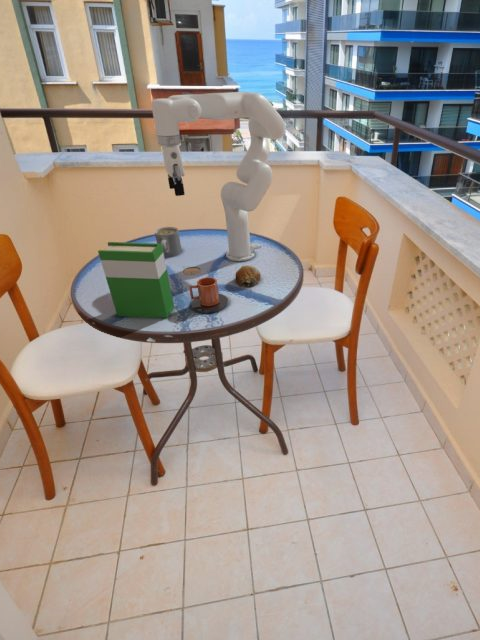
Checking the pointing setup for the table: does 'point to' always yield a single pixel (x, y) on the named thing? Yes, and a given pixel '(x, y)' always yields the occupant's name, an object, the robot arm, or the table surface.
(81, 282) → the table surface
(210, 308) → the saucer
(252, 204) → the robot arm
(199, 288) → the wooden mug
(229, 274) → the table surface
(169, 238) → the coffee mug
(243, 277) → the bread roll
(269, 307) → the table surface
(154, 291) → the hardback book
